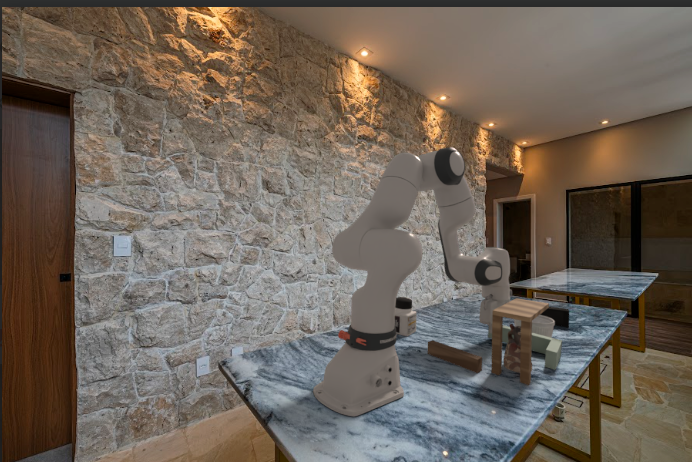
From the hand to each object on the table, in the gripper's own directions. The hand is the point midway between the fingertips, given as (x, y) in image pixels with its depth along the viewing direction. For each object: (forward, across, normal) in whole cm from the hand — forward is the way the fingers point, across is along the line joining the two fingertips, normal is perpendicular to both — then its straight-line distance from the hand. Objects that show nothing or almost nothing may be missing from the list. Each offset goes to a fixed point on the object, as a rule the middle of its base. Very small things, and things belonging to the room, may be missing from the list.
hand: (494, 331), depth 106 cm
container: (+4, -16, +28) cm, 32 cm away
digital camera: (+4, +41, -10) cm, 43 cm away
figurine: (+4, -17, -12) cm, 21 cm away
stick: (+4, -27, +3) cm, 27 cm away
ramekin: (+4, +17, -8) cm, 19 cm away
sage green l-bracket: (+3, -5, -9) cm, 11 cm away
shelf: (+4, -15, -12) cm, 20 cm away
